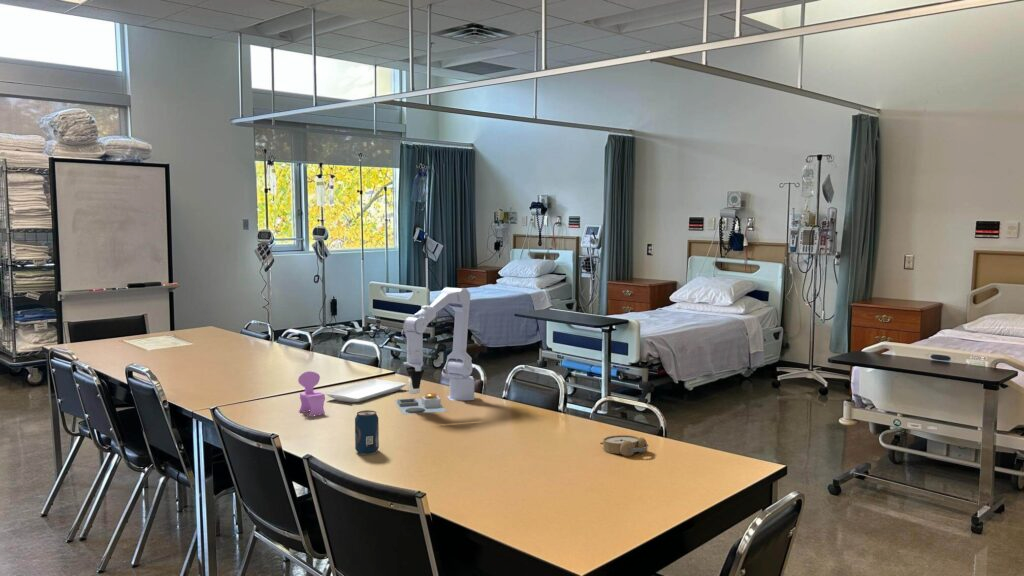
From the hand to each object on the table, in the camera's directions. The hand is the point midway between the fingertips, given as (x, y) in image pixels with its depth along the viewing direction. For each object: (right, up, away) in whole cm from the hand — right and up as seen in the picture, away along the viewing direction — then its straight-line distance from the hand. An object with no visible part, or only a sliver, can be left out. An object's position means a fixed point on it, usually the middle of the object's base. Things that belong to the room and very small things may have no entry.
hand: (415, 387), depth 270 cm
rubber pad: (0, -9, +1) cm, 9 cm away
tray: (-23, -8, +28) cm, 37 cm away
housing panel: (+1, -9, +8) cm, 12 cm away
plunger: (+5, -8, +8) cm, 12 cm away
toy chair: (-37, -10, -1) cm, 38 cm away
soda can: (-8, -13, -47) cm, 49 cm away
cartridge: (0, -2, 0) cm, 2 cm away
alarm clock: (+70, -14, -45) cm, 84 cm away
